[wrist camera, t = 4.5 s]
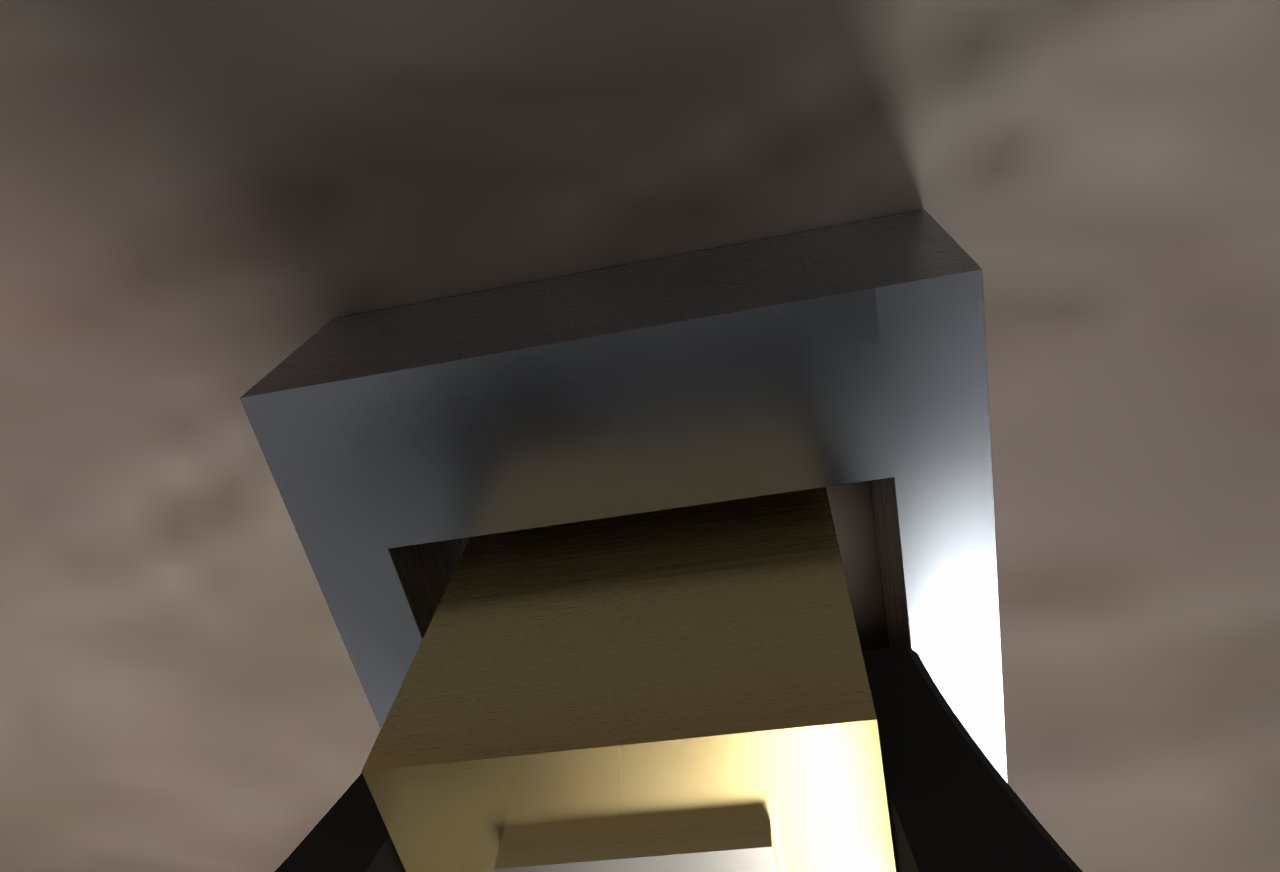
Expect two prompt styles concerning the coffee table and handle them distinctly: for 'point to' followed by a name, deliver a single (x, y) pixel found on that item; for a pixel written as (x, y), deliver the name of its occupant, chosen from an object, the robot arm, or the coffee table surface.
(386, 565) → the grey slotted tray
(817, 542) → the gold square block
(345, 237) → the coffee table surface
